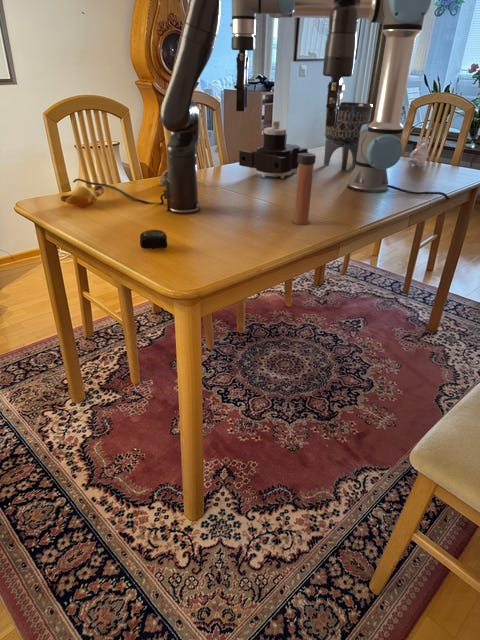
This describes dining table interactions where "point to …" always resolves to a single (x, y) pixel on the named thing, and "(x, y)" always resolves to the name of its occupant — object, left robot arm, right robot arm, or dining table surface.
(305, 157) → the lid
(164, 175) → the rock
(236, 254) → the dining table surface
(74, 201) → the toy
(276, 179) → the dining table surface
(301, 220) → the pinkish brown rounded rod
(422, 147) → the figurine
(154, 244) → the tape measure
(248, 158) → the mechanical component
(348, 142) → the planter
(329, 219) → the dining table surface
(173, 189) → the left robot arm
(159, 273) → the dining table surface
